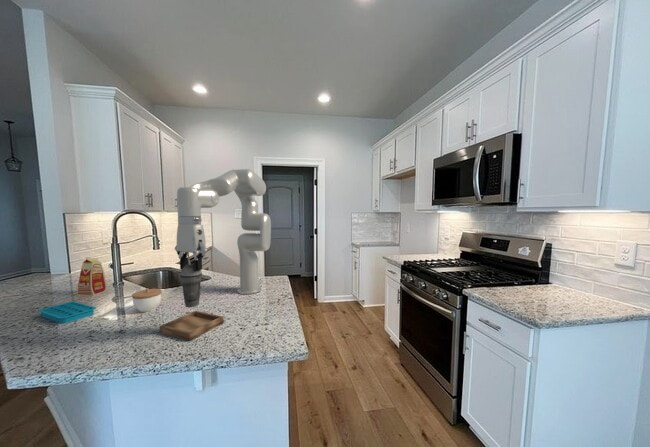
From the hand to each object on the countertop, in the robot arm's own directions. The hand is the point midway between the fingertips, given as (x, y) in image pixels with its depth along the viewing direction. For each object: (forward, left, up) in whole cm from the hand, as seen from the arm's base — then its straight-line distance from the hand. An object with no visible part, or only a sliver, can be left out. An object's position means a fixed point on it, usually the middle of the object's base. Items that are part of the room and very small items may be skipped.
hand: (191, 269), depth 94 cm
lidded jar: (-5, -34, -22) cm, 41 cm away
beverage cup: (0, 0, -14) cm, 14 cm away
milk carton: (-8, -84, -22) cm, 87 cm away
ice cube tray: (+12, -59, -23) cm, 64 cm away
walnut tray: (0, 0, -22) cm, 22 cm away
